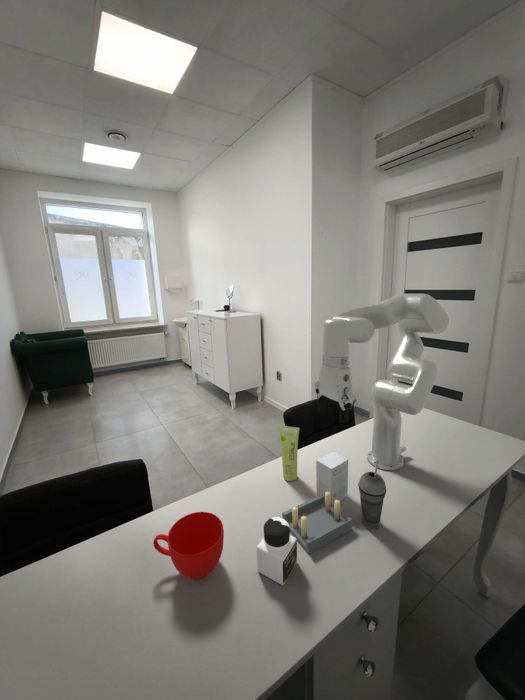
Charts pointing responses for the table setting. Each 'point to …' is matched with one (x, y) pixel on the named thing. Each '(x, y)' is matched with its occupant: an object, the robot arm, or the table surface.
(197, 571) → the ceramic cup
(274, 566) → the medicine bottle
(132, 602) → the table surface
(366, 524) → the beverage cup
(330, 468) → the small box
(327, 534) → the pin tray
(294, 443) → the tube
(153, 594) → the table surface
